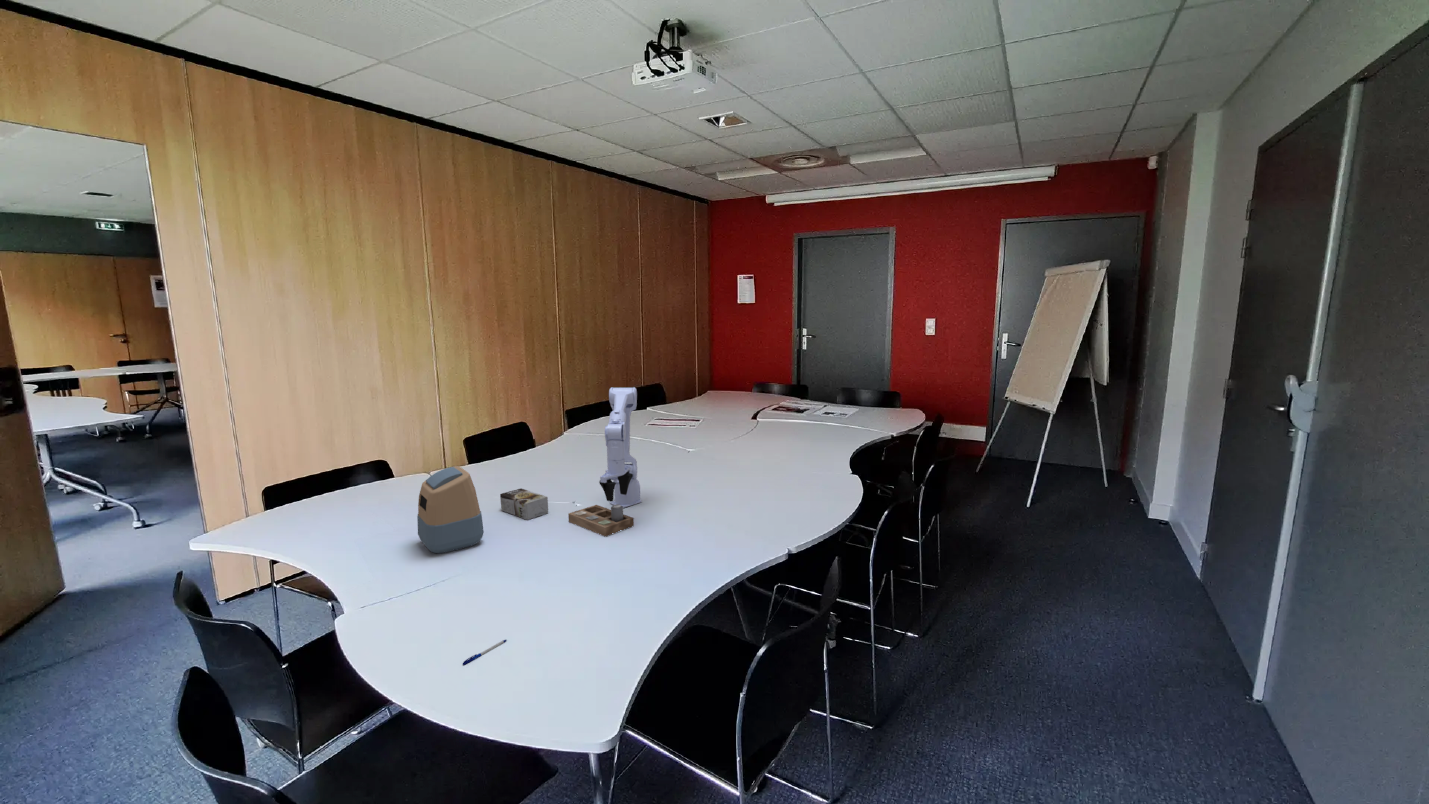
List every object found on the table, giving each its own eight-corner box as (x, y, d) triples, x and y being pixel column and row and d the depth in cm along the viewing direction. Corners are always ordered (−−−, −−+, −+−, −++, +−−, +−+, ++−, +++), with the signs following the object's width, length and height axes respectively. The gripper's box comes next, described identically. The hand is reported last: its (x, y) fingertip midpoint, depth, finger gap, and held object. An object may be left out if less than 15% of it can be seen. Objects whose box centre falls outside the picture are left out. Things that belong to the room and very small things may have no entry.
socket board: (596, 512, 206) (596, 503, 206) (633, 526, 193) (633, 516, 193) (568, 521, 197) (568, 512, 197) (605, 536, 184) (605, 526, 184)
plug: (616, 524, 195) (615, 502, 194) (625, 526, 194) (625, 504, 192) (609, 528, 192) (608, 506, 190) (618, 530, 190) (618, 508, 189)
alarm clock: (415, 541, 180) (410, 470, 176) (470, 529, 190) (466, 461, 187) (429, 559, 167) (423, 483, 163) (488, 544, 178) (483, 472, 174)
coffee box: (526, 502, 197) (499, 493, 207) (527, 520, 198) (500, 510, 208) (548, 495, 204) (521, 487, 214) (548, 513, 205) (522, 503, 215)
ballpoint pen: (464, 667, 117) (464, 662, 117) (461, 665, 118) (461, 661, 117) (507, 642, 126) (506, 638, 126) (504, 640, 126) (504, 636, 126)
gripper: (619, 452, 200) (620, 489, 203) (592, 462, 188) (593, 501, 190) (635, 455, 197) (636, 492, 199) (609, 465, 184) (610, 505, 187)
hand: (616, 497), depth 194 cm, fingers open, 7 cm apart
